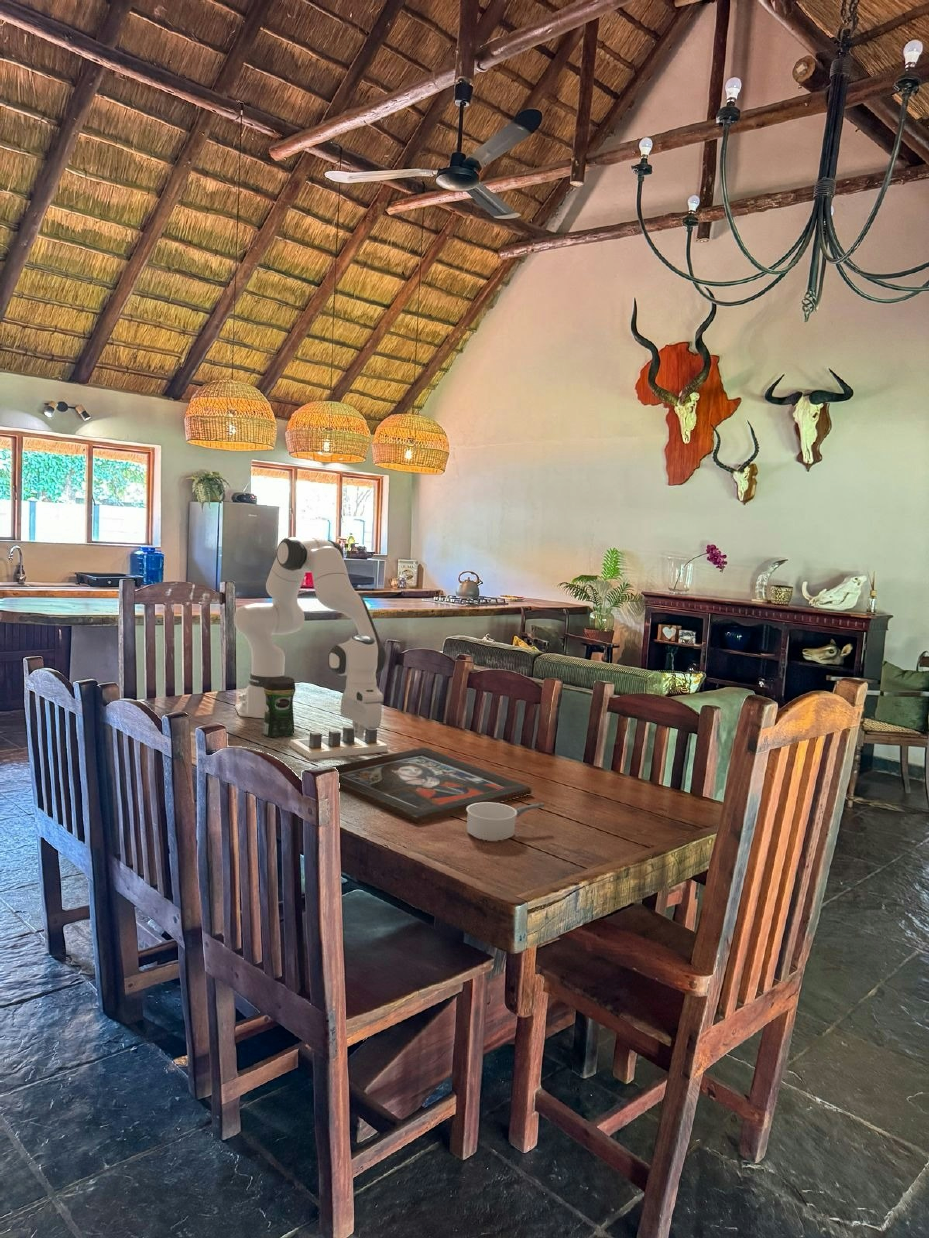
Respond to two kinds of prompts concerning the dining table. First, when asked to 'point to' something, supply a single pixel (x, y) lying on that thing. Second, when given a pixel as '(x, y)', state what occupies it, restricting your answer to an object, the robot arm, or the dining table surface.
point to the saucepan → (494, 820)
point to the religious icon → (424, 784)
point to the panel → (337, 748)
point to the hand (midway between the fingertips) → (358, 737)
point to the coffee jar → (279, 707)
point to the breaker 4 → (371, 735)
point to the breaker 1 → (315, 739)
